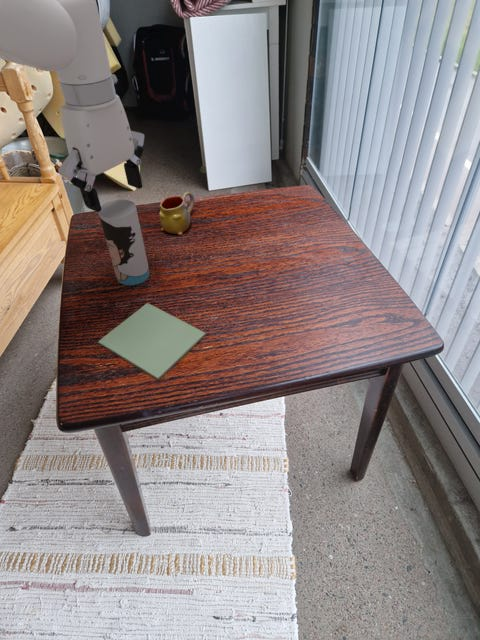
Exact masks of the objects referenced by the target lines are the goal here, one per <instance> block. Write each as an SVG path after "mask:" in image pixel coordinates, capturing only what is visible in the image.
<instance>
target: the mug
mask: <svg viewBox="0 0 480 640" xmlns="http://www.w3.org/2000/svg"><path fill="white" fill-rule="evenodd" d="M187 196H188V197H189V200H190V201H189V205H188V203H186V201H185V200H186V198H187ZM194 205H195V196H194V194H192V192H190V191H185V192H184V193H183V194H182V195H179V194H178V195H171V196H167V197H165V198H163V199H162V200H161V201H160V204H159V207H160V211H159V223H160V225H161V228H160V230H161V232H166V233H168V234H172V235H178V236H182V235H183V234H184V232H186V231H187V230H188V229H189V228H190V226H191V221H192V219H191V213H192V211H193V208H194Z"/></svg>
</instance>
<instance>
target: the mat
mask: <svg viewBox="0 0 480 640" xmlns="http://www.w3.org/2000/svg"><path fill="white" fill-rule="evenodd" d="M206 333H207V332H205V331H203V330H201V329H199V328H197V327H195V326H193V325H191V324H189V323H187V322H185V321H183V320H181V319H179V318H178V317H176V316H174V315H171V314H170V313H168V312H166V311H164V310H162V309H160V308H158V307H157V306H155V305H152V304H150V303H148V302H147V303H145V304H144V305H143V306H141V307H140V308H139V309H138V310H136V311H135V312H133V314H131V315H130V316H128V317H127V318H125V320H123V321H122V322H121V323H120V324H119V325H117V326H116V327H115V328H113V329H112V330H111V331H109V332H108V333H107V334H106V335H104V336H103V337H102V338H101V339H99V340H98V341H97V343H98V345H100V346H102V347H103V348H105V349H107V350H109V351H110V352H112V353H113V354H115V355H117V356H118V357H120V358H121V359H124V360H125V361H126V362H128V363H130V364H131V365H133V366H134V367H136V368H138V369H139V370H140V371H143V372H144V373H146V374H147V375H149V376H151V377H152V378H154V379H155V380H158V381H160V380H161V379H162V378H163V377H164V376H165V375H166V374H167V373H168V372H169V371H170V370H171V369H172V368H173V367H175V365H177V364H178V363H179V362H180V361H181V360H182V359H183V358H184V357H185V356H186V355H187V354H188V353H189V352H190V351H191V350H192V349H193V348H194V347H195V346H197V344H198V343H199V342H200V341H202V339H204V338H205V337H206V336H207V334H206Z"/></svg>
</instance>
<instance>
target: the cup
mask: <svg viewBox="0 0 480 640" xmlns="http://www.w3.org/2000/svg"><path fill="white" fill-rule="evenodd" d="M97 213H98V217H99V221H100V224H101V227H102V231H103V235H104V238H105V242H106V245H107V249H108V253H109V256H110V259H111V263H112V267H113V271H114V274H115V278H116V280H117V282H118V283H119V284H121V285H124V286H135V285H136V286H137V285H139V284H142V283H144V282H145V281H147V280H148V278H149V277H150V275H151V272H150V266H149V263H148V257H147V253H146V247H145V243H144V239H143V233H142V229H141V225H140V218H139V215H138V210H137V205H136V203H135V202H133V201H131V200H129V199H113V200H110V201H107V202H105V203H103V204H102V205H101V211H100V212H97Z"/></svg>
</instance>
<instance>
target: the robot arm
mask: <svg viewBox="0 0 480 640" xmlns="http://www.w3.org/2000/svg"><path fill="white" fill-rule="evenodd" d="M107 51H108V50H107V46H106V41H105V37H104V31H103V27H102V22H101V18H100V12H99V8H98V4H97V0H0V59H1V60H4V61H6V62H10V63H14V64H17V65H22V66H26V67H30V68H33V69H37V70H40V71H43V72H55V73H56V76H57V81H58V83H59V87H60V90H61V94H62V98H63V100H64V104H63V105H62V106H60V110H61V113H60V114H61V121H62V122H61V123H62V129H63V135H64V140H65V144H66V149H67V152H68V155H67V156H66V158H65V159H64V160H63V162H62V163H61V165H60V166H59V168H58V170H57V172H58V174H59V175H60V176H61V177H62V178H63V179H64V180H65V181H66V182H67V183H68V184H70V185H72V186H74V187H75V188H78V189H79V190H80V191H79V192H80V195H81V197H82V200H83V203H84V206H86V208H87V209H90V210H92V211H94V212H96V213H98V212H100V211H101V206H102V205H101V202H100V198H99V195H98V191H97V189H95V188H93V187H94V185H95V180H96V177H97V176H99V175H101V174H103V173H105V172H107V171H109V170H111V169H114V168H116V167H117V166H119V165H122V164H123V169H124V173H125V178H126V182H127V185H128V186H131V187H133V188H136V189H139V190H140V189H142V188H143V182H142V177H141V171H140V166H141V164H142V160H141V158H142V156H143V152H144V144H145V143H144V142H145V134H144V133H142V132H139V131H134V130H131V127H130V123H129V119H128V116H127V113H126V111H125V108H124V104H123V103H122V101H121V99H120V96H119V95H118V94H117V93H116V92H117V91H116V88H115V85H117V83H118V78H117V75H116V74H114V73H112V70H111V65H110V61H109V56H108V52H107ZM74 170H75V171H77V175H75V174H74Z"/></svg>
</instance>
